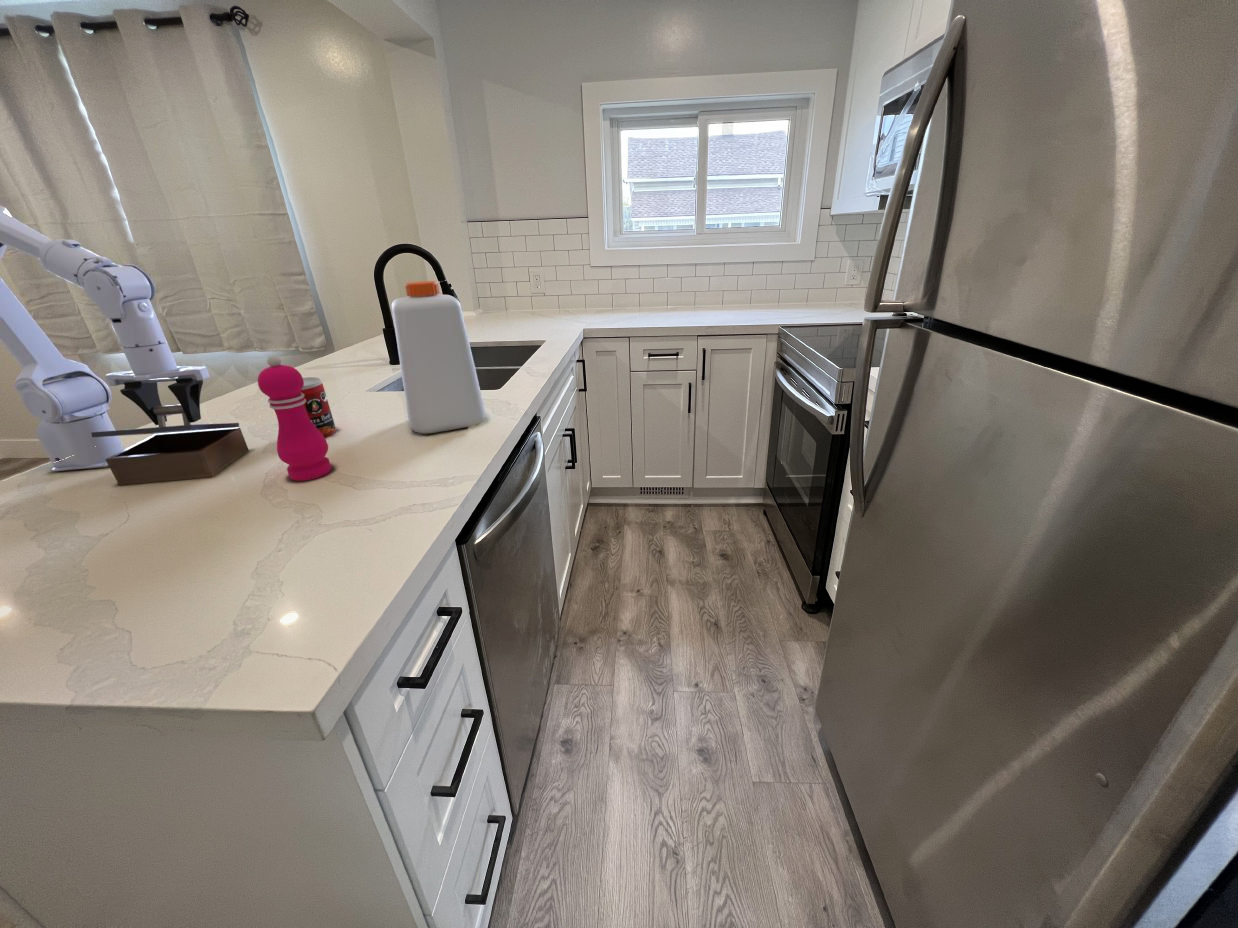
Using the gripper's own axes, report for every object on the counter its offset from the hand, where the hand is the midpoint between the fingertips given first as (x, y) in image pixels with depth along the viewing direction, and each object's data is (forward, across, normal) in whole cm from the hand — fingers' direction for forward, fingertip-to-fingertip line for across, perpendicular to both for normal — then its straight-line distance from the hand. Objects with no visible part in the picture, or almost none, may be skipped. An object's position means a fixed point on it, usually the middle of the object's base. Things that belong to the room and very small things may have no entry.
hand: (178, 422), depth 88 cm
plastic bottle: (+8, +43, +12) cm, 45 cm away
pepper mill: (+8, +24, -10) cm, 27 cm away
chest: (+8, 0, -2) cm, 8 cm away
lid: (+1, 0, -2) cm, 3 cm away
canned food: (+8, +17, +10) cm, 21 cm away
